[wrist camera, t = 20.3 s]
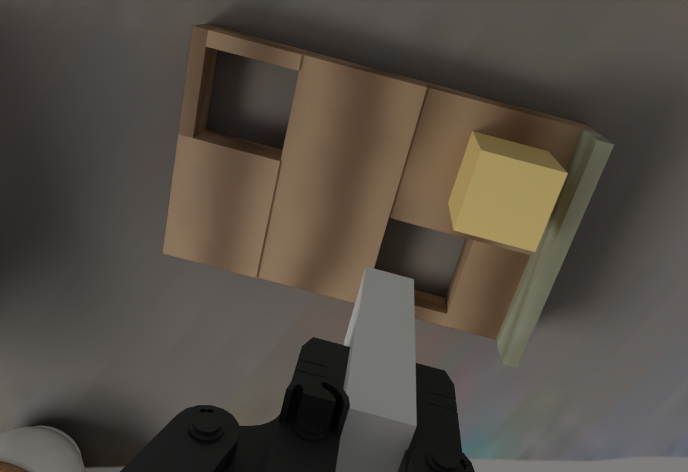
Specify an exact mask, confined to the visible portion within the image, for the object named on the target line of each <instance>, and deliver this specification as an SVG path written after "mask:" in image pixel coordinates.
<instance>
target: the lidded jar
mask: <svg viewBox="0 0 688 472" xmlns="http://www.w3.org/2000/svg"><path fill="white" fill-rule="evenodd" d="M0 472H85V466H84V463H83V460H82V456H81V451H80V449H79V447H78V445H77V444H76V442H75V441H74V440H73V439H72V438H71V437H70V436H69V435H68V434H66V433H65V432H63V431H61V430H59V429H57V428H54V427H50V426H44V425H38V426H33V427H19V428H14V429H10V430H7V431H4V432H2V433H0Z"/></svg>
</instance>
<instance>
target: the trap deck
mask: <svg viewBox="0 0 688 472" xmlns="http://www.w3.org/2000/svg"><path fill="white" fill-rule="evenodd" d="M218 50H221V51H225V52H229V53H232V54H236V55H240V56H244V57H247V58H251V59H255V60H259V61H263V62H266V63H270V64H274V65H278V66H281V67H285V68H289V69H293V70H297V71H299V73H298V78H297V83H296V88H295V93H294V98H293V103H292V107H291V112H290V117H289V122H288V127H287V132H286V137H285V141H284V146H283V150H282V149H279V148H275V147H271V146H267V145H264V144H260V143H256V142H252V141H248V140H245V139H241V138H237V137H233V136H230V135H226V134H222V133H218V132H214V131H211V130H207V129H206V127H207V120H208V113H209V107H210V100H211V93H212V87H213V80H214V73H215V67H216V60H217V53H218ZM472 131H474V132H478V133H482V134H485V135H489V136H493V137H497V138H500V139H504V140H508V141H512V142H515V143H519V144H523V145H527V146H530V147H534V148H538V149H542V150H545V151H549V153H550V154H551V155H552V156H553V157H554V158H555V159H556V160H557V162H558V163H559V164H560V165H561V166H562V167H563V168H564V169H565V171H566V172H567V173H568V174H567V177H566V179H565V182H564V184H563V186H562V189H561V191H560V194H559V196H558V199H557V201H556V203H555V206H554V208H553V211H552V213H551V215H550V218H549V220H548V223H547V225H546V227H545V230H544V232H543V235H542V237H541V240H540V242H539V244H538V247H537V249H536V252H533V251H529V250H525V249H522V248H518V247H514V246H510V245H507V244H503V243H499V242H495V241H492V240H488V239H484V238H480V237H477V236H473V235H469V234H465V233H462V232H458V231H454V230H453V226H452V220H451V215H450V210H449V205H448V202H449V199H450V196H451V193H452V190H453V187H454V184H455V181H456V178H457V175H458V172H459V169H460V166H461V163H462V160H463V157H464V154H465V151H466V148H467V145H468V142H469V139H470V136H471V133H472ZM613 147H614V144H613V143H612V142H610V141H609V140H607V139H606V138H605V137H603V136H602V135H601V134H599V133H598V132H596V131H595V130H594V129H592V128H591V127H590V126H588V125H587V124H583V123H580V122H576V121H572V120H568V119H564V118H561V117H557V116H553V115H549V114H546V113H542V112H538V111H534V110H530V109H527V108H523V107H519V106H515V105H512V104H508V103H504V102H500V101H496V100H493V99H489V98H485V97H481V96H478V95H474V94H470V93H466V92H462V91H459V90H455V89H451V88H447V87H444V86H440V85H436V84H432V83H428V82H425V81H421V80H417V79H413V78H410V77H406V76H402V75H398V74H394V73H391V72H387V71H383V70H379V69H376V68H372V67H368V66H364V65H360V64H357V63H353V62H349V61H345V60H342V59H338V58H334V57H330V56H326V55H323V54H319V53H315V52H311V51H308V50H304V49H300V48H296V47H292V46H289V45H285V44H281V43H277V42H274V41H270V40H266V39H262V38H258V37H255V36H251V35H247V34H243V33H240V32H236V31H232V30H228V29H224V28H221V27H217V26H213V25H209V24H202V25H195V26H192V33H191V41H190V49H189V56H188V64H187V72H186V79H185V87H184V94H183V102H182V110H181V117H180V125H179V132H178V140H177V148H176V155H175V163H174V171H173V178H172V186H171V193H170V201H169V209H168V216H167V224H166V231H165V239H164V247H163V254H167V255H171V256H175V257H178V258H182V259H186V260H190V261H193V262H197V263H201V264H205V265H209V266H212V267H216V268H220V269H224V270H227V271H231V272H235V273H239V274H243V275H246V276H250V277H254V278H256V277H258V278H262V279H265V280H269V281H273V282H277V283H280V284H284V285H288V286H292V287H295V288H299V289H303V290H307V291H311V292H314V293H318V294H322V295H326V296H329V297H333V298H337V299H341V300H345V301H348V302H352V303H356V299H357V296H358V292H359V289H360V285H361V282H362V278H363V275H364V271H365V268H366V267H370V268H374V266H375V263H376V260H377V256H378V253H379V249H380V246H381V243H382V239H383V236H384V232H385V229H386V226H387V222H388V219H389V218H392V219H395V220H399V221H403V222H407V223H410V224H414V225H418V226H422V227H426V228H429V229H433V230H437V231H441V232H444V233H448V234H452V235H456V236H460V237H463V238H466V240H465V243H464V246H463V248H462V251H461V254H460V257H459V260H458V263H457V265H456V268H455V271H454V274H453V277H452V279H451V282H450V285H449V288H448V291H447V293H446V296H445V297H441V296H437V295H433V294H430V293H426V292H422V291H418V290H414V309H415V318H416V319H420V320H424V321H428V322H431V323H435V324H439V325H443V326H447V327H450V328H454V329H458V330H462V331H465V332H469V333H473V334H477V335H480V336H484V337H488V338H492V339H496V342H497V346H498V350H499V354H500V358H501V362H502V365H504V366H508V367H512V368H516V369H517V367H518V364H519V362H520V360H521V358H522V355H523V353H524V351H525V348H526V346H527V344H528V342H529V339H530V337H531V335H532V332H533V330H534V328H535V325H536V323H537V321H538V319H539V316H540V314H541V312H542V309H543V307H544V305H545V303H546V300H547V298H548V296H549V293H550V291H551V289H552V286H553V284H554V282H555V280H556V277H557V275H558V273H559V270H560V268H561V266H562V264H563V261H564V259H565V257H566V254H567V252H568V250H569V247H570V245H571V243H572V241H573V238H574V236H575V234H576V231H577V229H578V227H579V225H580V222H581V220H582V218H583V215H584V213H585V211H586V209H587V206H588V204H589V202H590V199H591V197H592V195H593V192H594V190H595V188H596V186H597V183H598V181H599V179H600V176H601V174H602V172H603V170H604V167H605V165H606V163H607V160H608V158H609V156H610V153H611V151H612V149H613Z"/></svg>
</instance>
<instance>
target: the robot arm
mask: <svg viewBox="0 0 688 472" xmlns="http://www.w3.org/2000/svg"><path fill="white" fill-rule="evenodd" d="M455 400H456V396H455V388H454V384H453V382H452V381H451V379H450V378H449V376H448V375H447V373H446V372H445V371H444V370H440V369H436V368H433V367H429V366H425V365H421V364H418V363H416V361H415V309H414V279H411V278H408V277H404V276H400V275H396V274H393V273H389V272H385V271H381V270H377V269H374V268H370V267H366V268H365V271H364V275H363V278H362V282H361V285H360V289H359V292H358V296H357V299H356V303H355V306H354V310H353V313H352V317H351V320H350V324H349V327H348V330H347V334H346V337H345V341H344V345H341V344H337V343H333V342H329V341H326V340H322V339H318V338H314V337H313V338H312V339H310V340H309V341H308V342H307V343H305V344H304V345H303V346H302V348H301V352H300V355H299V358H298V362H297V365H296V368H295V372H294V375H293V378H292V382H291V383H290V384H289V386H288V387H287V389H286V393H285V397H284V401H283V405H282V409H281V413H280V415H279V416H278V417H277V418H276V419H274V420H272V421H271V422H269V423H266V424H262V425H256V426H239V424H238V422H237V421H236V419H235V418H234V416H233V415H232V414H230V413H229V412H227V411H226V410H224V409H221V408H218V407H215V406H211V405H198V406H194V407H190V408H186V409H185V410H183V411H182V412H180V413H179V414H177V415H176V416H175V417H174V418H173V419H172V420H171V421H170V422H169V423H168V424H167V425H166V426H165V427H164V428H163V429H162V430H161V431H160V432H159V433H158V434H157V435H156V436H155V437H154V438H153V439H152V440H151V441H150V442H149V443H148V444H147V445H146V446H145V447H144V448H143V449H142V450H141V451H140V452H139V453H138V454H137V455H136V456H135V457H134V458H133V459H132V460H131V461H130V462H129V463H128V464H127V465H126V466H125V467H124V468H123V469H122V470H121V471H120V472H475V471H474V469H473V466H472V463H471V462H470V460H469V459H468V458H467V457H466V456H465V454H464V453H462V448H461V439H460V431H459V422H458V413H457V405H456V401H455Z"/></svg>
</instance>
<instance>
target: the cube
mask: <svg viewBox="0 0 688 472" xmlns="http://www.w3.org/2000/svg"><path fill="white" fill-rule="evenodd" d="M567 174H568V173H567V172H566V171H565V169H564V168H563V167H562V166H561V165H560V164H559V163H558V162H557V160H556V159H555V158H554V157H553V156H552V155H551V154H550V153H549V151H545V150H542V149H538V148H534V147H530V146H527V145H523V144H519V143H515V142H512V141H508V140H504V139H500V138H497V137H493V136H489V135H485V134H482V133H478V132H474V131H472V133H471V136H470V139H469V142H468V145H467V148H466V151H465V154H464V157H463V160H462V163H461V166H460V169H459V172H458V175H457V178H456V181H455V184H454V187H453V190H452V193H451V196H450V199H449V202H448V205H449V210H450V215H451V220H452V226H453V230H454V231H458V232H462V233H465V234H469V235H473V236H477V237H480V238H484V239H488V240H492V241H495V242H499V243H503V244H507V245H510V246H514V247H518V248H522V249H525V250H529V251H533V252H536V249H537V247H538V244H539V242H540V240H541V237H542V235H543V232H544V230H545V227H546V225H547V223H548V220H549V218H550V215H551V213H552V211H553V208H554V206H555V203H556V201H557V199H558V196H559V194H560V191H561V189H562V186H563V184H564V182H565V179H566V177H567Z"/></svg>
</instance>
